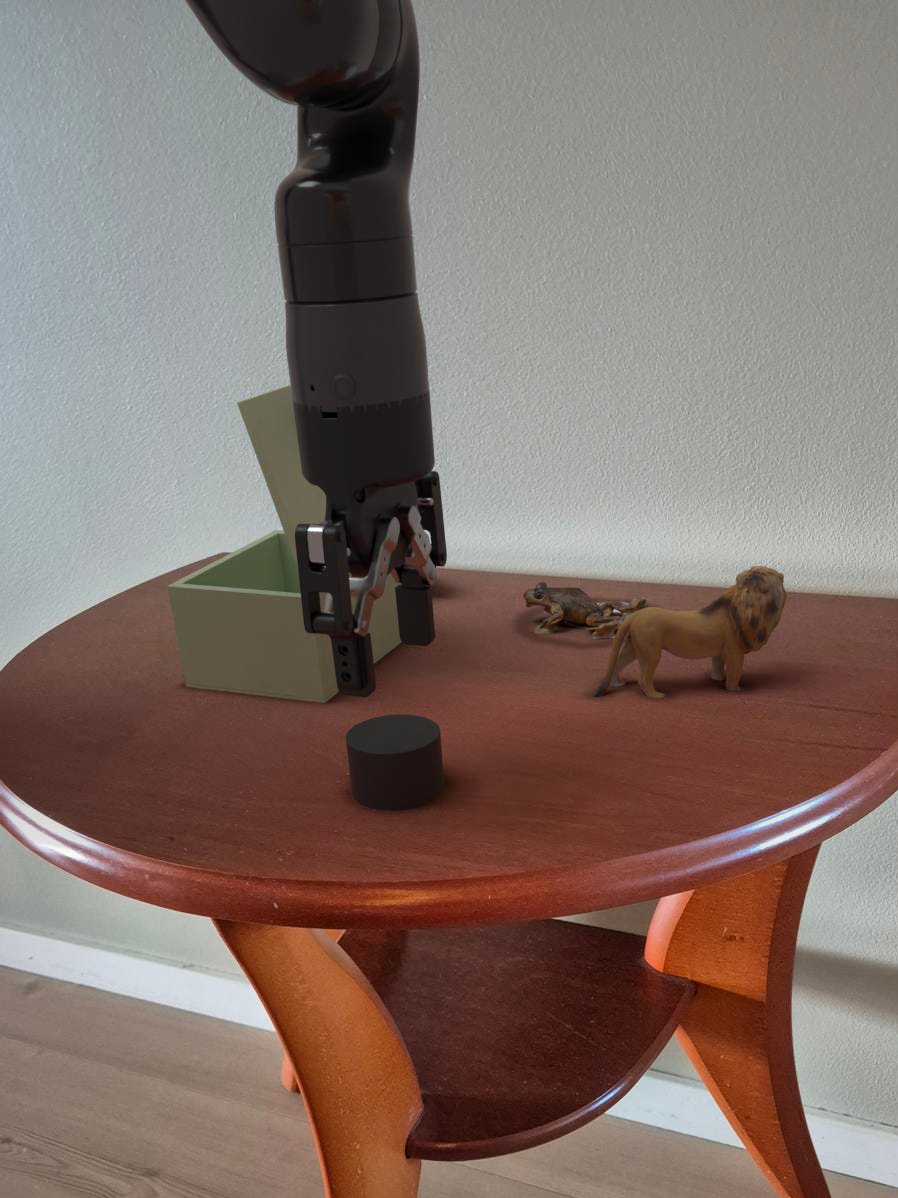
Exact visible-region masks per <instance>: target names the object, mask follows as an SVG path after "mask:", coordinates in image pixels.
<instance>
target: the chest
mask: <svg viewBox="0 0 898 1198" xmlns="http://www.w3.org/2000/svg"><path fill="white" fill-rule="evenodd" d="M349 577H352V574H350V573H349ZM352 578H363V577H352ZM398 585H402V583H396V582H395V580H394V578H393V576H392V575H391V573H389V575H387V577H386V583H385V588H384V592H383V595H382V596H381V597H380V598H378V599H376V600H375V601H374V603H373V608H372V613H371V618H370V623H369V629H368V632H367V633H370V635H371V644H372V653H373V662H374V664H376V663H377V662H379V661H380V660H381V659H382V658H383V657H385V656H386V655H387V654H389V653H390V652H391V651H392V650H393V649H395V648H396V647H397V646H399V644H401V643H403V642H402V641H401V640H400V635H399V625H398V614H397V604H396V593H395V587H397V586H398ZM167 592H168V596H169V602H170V607H171V612H172V618H173V623H174V628H175V635H176V639H177V646H178V650H179V655H180V660H181V666H182V671H183V676H184V682H185V687H186V688H194V689H202V690H211V691H217V692H219V691H220V692H228V693H237V694H243V695H244V694H245V695H254V696H261V697H270V698H271V697H272V698H279V699H287V700H295V701H305V702H312V703H313V702H314V703H321V704H325V703H327V702H328V701H329V700H331V699H332V698H333V697H334V696H336V695H337V694H338V693H340V691H339V690H338V688H337V682H336V674H335V667H334V666H335V665H334V659H333V651H332V643H331V639H330V637H329V635H327V634H312V633H307V632H306V630H305V628H304V620H303V611H302V601H301V592H300V582H299V572H298V568H297V565H296V563H295V560H294V557H293V555H292V552H291V549H290V546H289V544H288V541H287V538H286V535H285V533H284V530H278V529H275V530H273V531H271V532H269V533H267V534H265V535H264V536H262V537H259V538H258V539H256V540H253V541H252V542H250V543H248V544H246V545H244V546H242V547H240V548H238V549H236V550H234V551H232V552H231V553H229V554H227V555H225V556H223V557H221V558H219V559H217V560H215V561H213V562H211V563H209V564H206V565H205V566H204V567H203V566H202V567H201V568H199V569H197V570H196V571H194V572H192V573H190V574H188V575H186V576H183V577H182V578H180V579H178V580H176V581H174V582H172V583H170V584H169V585H167ZM319 596H320V606H321V612H323V608H324V603H325V598H326V593H323V592H319ZM356 599H357V597H351V605H352V614H354V610H355V604H356Z"/></svg>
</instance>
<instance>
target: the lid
mask: <svg viewBox="0 0 898 1198" xmlns="http://www.w3.org/2000/svg"><path fill="white" fill-rule="evenodd" d="M236 404H237V407H238V410H239V412H240V415H241V418H242V420H243V423H244V426H245V429H246V431H247V434H248V437H249V439H250V443H251V445H252V448H253V451H254V453H255V456H256V459H257V462H258V464H259V467H260V470H261V473H262V475H263V478H264V480H265V483H266V486H267V489H268V491H269V494H270V497H271V500H272V502H273V505H274V508H275V511H276V513H277V516H278V519H279V522H280V525H281V527H282V531H284V533H285V535H286V538H287V541H288V544H289V546H290V549H291V552H292V555H293V557H294V560H295V563H296V565H297V568H298V563H297V553H296V544H295V529H296V527H297V525H298V524H320V523H322V522H324V521H325V513H326V495H325V493H324V492H323V490H322V489H321V488H319V487H318V486H317V485H312V484H310V483H309V482H308V481H307V480H306V479H305V478H304V477H303V475H302V470H301V462H300V454H299V446H298V439H297V431H296V423H295V416H294V408H293V401H292V393H291V385H290V384H289V385H285V386H282V387H279V388H277V389H273V390H271V391H268V392H267V391H266V392H264V393H261V394H258V395H255V396H252V397H249V398H246V399H244V400H240V401H237V402H236ZM323 567H324V566H323Z"/></svg>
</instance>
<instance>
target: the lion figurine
mask: <svg viewBox="0 0 898 1198" xmlns="http://www.w3.org/2000/svg"><path fill="white" fill-rule="evenodd" d="M784 580H785V576H784V573H782V572H778V571H777V570H776V569H775V568H770V567H767V566H764V565H754V566H751V567H750V568H749V569H745V570H743V571H742V572H740V573H738V574H736V577H735V584H734V585H731V586H730V587H729V588H728V589H727V590H725V591H724V592H722V594H721V595H720V596H718V597H717V598H716V599H713V601H711V602H710V603H709V604H708V605H707V606H705V607H702V608H701V609H693V610H672V609H667V608H663V607H658V606H648V608H644V609H641V610H638V611H636V612H634V613H632V614H631V615H629V616H628V617H627V618H626V619H625V620H624V621H623V622H622V623H620V625H619V626H618V629H617V630H616V632H615V634H616V635H615V638H613V640H612V644H611V648H610V652H609V656H608V657H609V658H608V662H607V666H606V667H607V668H606V672H605V675H604V677H603V680H602V682H601V683H600V684H599V685H598V687H597V688H596V690H595V691H594V693H592V697H602V696H603V695H604V694H605V693H606V692H607V690H608V689H609V687H623V686H624V685H626V681H624V680H622V679H619V676H620V675H621V672H622V671H623V670H624V669H625V668H626V667H628V666H629V665H631V664H632V663H633V662H634V661H636V660H637V661H638V664H639V668H640V671H639V675H638V680H637V682H638V683H637V684H638V685H639V687H640V688H641V690H642V691H643V693H644V695H645V696H646V697H648V698H655V699H661V698H665V696H666V694H665V693H663V692H658V691H657V690H656V689H655V687H654V683H653V679H654V675H655V673H656V671H657V667H658V666H659V664H660V662H661V657H662V651H665V652H667V653H669V654H670V655H672V656H674V657H677V658H679V659H680V658H681V659H685V660H690V661H691V660H693V661H694V660H703V659H704V660H705V659H710V658H711V672H710V678H711V679H712V680H715V681H724V680H725V687H726V690H728V691H734V692H735V691H740V690H742V687H741V686H739V682H740V679H741V675H742V671H743V667H744V663H745V662H744V661H745V655H748V654H750V653H752V652H758V651H760V650H761V649H762V647H764V646H766V645H767V644H768V641H769V639H770V637H771V636H772V633H773V632H774V631H775V629H776V628H777V626H778V625H779V624H780V622H781V617H782V613H783V610H784V608H785V605H786V601H787V598H788V595H787V591H786V588H785V586H784ZM624 639H625V641H624ZM623 643H624V644H623Z"/></svg>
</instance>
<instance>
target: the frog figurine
mask: <svg viewBox="0 0 898 1198" xmlns="http://www.w3.org/2000/svg"><path fill="white" fill-rule="evenodd" d="M522 597H523V599H524V601H525V607H526V608H532V607H535V606H536V607H537V606H540V607H543V610H544V611H543V613H544V614H547V615H551V616H549V617H547V618H544V619H543V620H542V622H541V623H540V624H539V625H538V626H536V628H535V630H534V633H535V634H539V635H549V634H554V633H556V628H555V627H554V625H557V624H558V623H560V622H561V621H562V620H563V622H564V624H565V625H567V626H570V627H573V628H577V629H585V631H593V633H592V634H591V639H593V640H599V639H614V638H615V635H616V633H615V631H617V628H619V624H622V622H623V621H624V620H625V619H626V618H627V617H628V616H629V615H631V614H632V613H634V612H636V611H638V610H641V609H644V608H648V607H649V606H648V603H647V599H646V598H645V597H643V596H639V597H636V598H635V599H634V598H631V599H630V600H629V602H625V601H621V600H606V601H597V600H593V598H591V597H590V596H589V595H588V593H587V592H585V591H583V590H582V588H580V587H573V586H572V587H570V586H569V587H567V586H566V587H565V586H564V587H547V582H544V581H543V582H542V581H541V582H538V583H537V584H536V585H535V587H534V588H527V589H525V591H524V592H523V595H522ZM614 613H620V614H622V616H619V615H614Z"/></svg>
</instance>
